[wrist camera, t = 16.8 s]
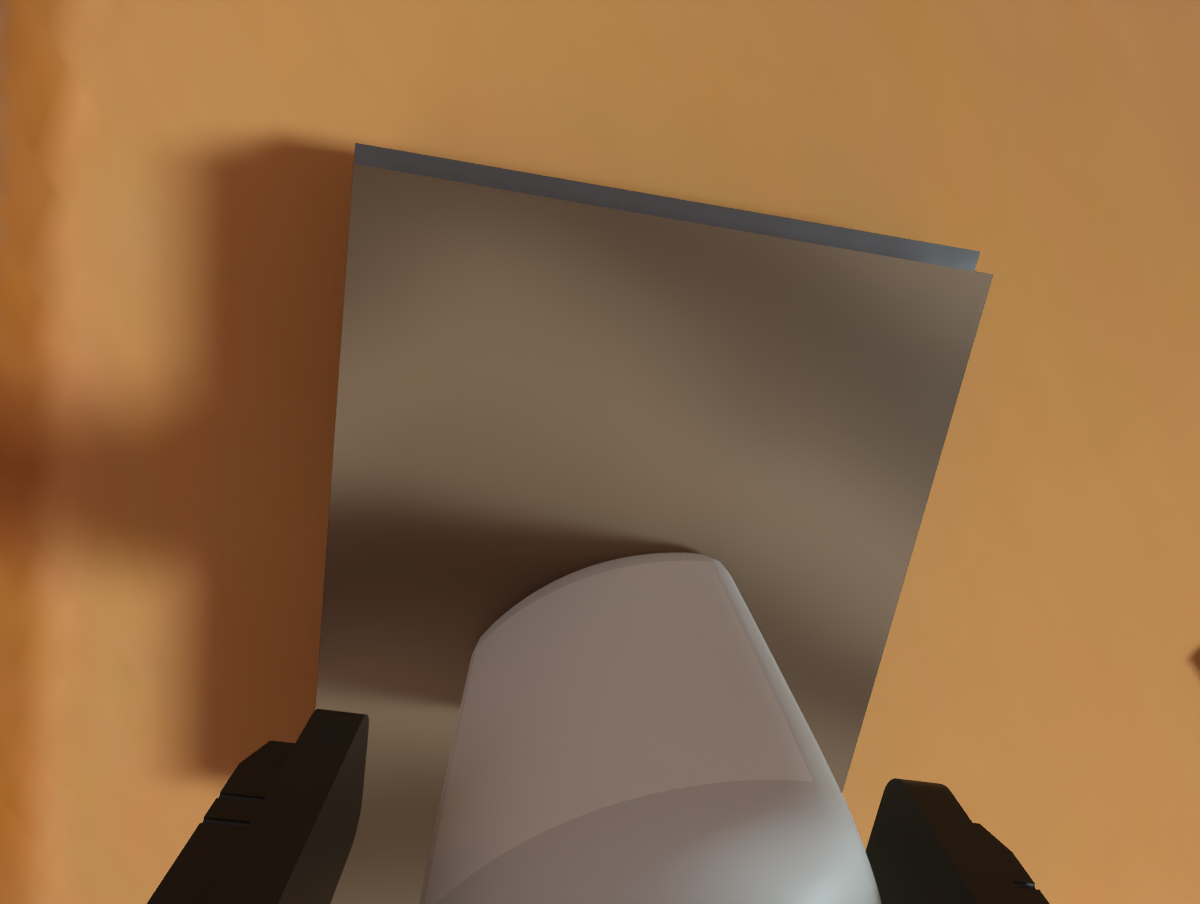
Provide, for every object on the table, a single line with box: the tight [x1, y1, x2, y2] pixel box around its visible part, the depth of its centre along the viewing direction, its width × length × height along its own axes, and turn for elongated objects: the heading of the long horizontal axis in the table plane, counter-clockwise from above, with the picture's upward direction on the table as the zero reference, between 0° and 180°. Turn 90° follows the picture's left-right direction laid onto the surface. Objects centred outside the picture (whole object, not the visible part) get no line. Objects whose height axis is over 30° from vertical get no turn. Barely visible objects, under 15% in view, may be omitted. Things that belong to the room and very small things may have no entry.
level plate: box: [315, 164, 993, 904], centre depth 15 cm, size 17×12×4 cm
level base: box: [354, 143, 980, 271], centre depth 19 cm, size 18×13×2 cm
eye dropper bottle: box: [419, 553, 882, 904], centre depth 10 cm, size 4×6×12 cm
